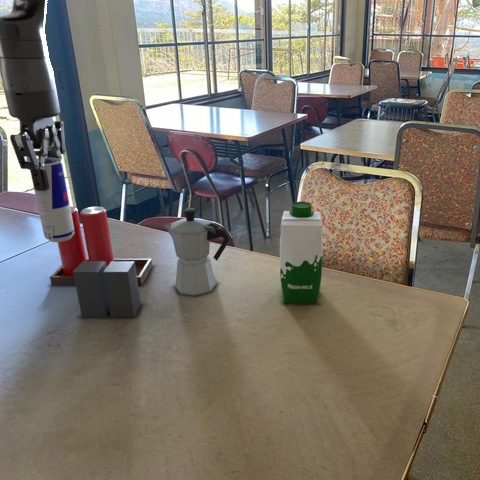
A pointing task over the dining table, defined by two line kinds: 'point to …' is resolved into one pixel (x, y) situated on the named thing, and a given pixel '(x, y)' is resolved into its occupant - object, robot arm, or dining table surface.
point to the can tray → (140, 264)
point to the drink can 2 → (97, 234)
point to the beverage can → (55, 204)
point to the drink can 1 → (72, 247)
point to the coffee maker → (195, 252)
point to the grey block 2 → (122, 288)
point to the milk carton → (301, 254)
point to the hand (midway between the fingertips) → (49, 184)
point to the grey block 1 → (91, 288)
